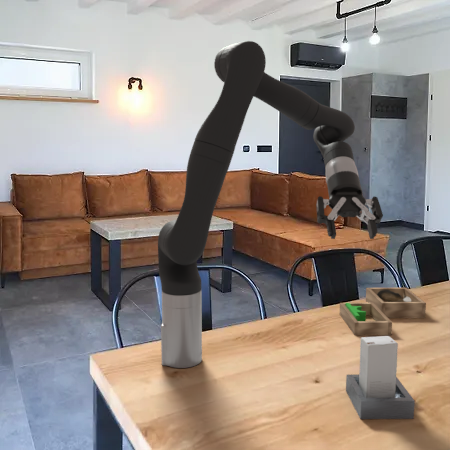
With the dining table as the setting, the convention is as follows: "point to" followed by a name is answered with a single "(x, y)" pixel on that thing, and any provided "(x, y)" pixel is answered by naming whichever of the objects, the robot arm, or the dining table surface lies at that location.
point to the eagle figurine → (392, 296)
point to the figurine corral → (397, 304)
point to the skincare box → (378, 367)
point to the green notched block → (357, 312)
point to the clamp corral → (367, 327)
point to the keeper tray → (380, 402)
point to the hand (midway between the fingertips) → (353, 237)
